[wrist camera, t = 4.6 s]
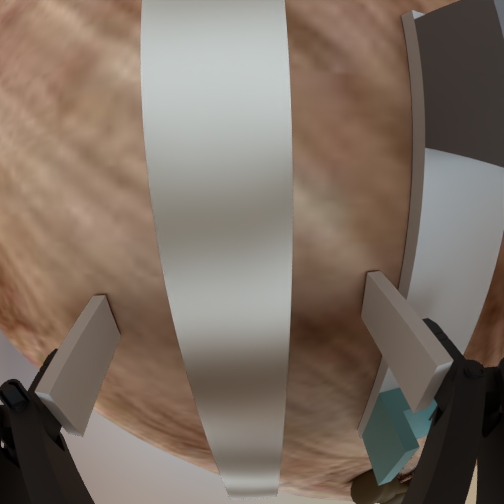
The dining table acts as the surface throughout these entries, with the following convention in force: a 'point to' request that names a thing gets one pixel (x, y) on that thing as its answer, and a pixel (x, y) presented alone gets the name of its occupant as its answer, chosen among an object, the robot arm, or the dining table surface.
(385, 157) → the dining table surface
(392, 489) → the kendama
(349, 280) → the dining table surface
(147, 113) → the grey white bar
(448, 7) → the long grey teal holder
